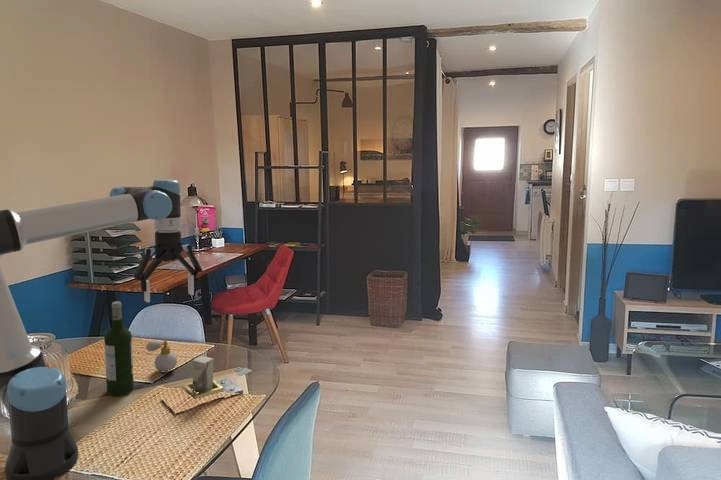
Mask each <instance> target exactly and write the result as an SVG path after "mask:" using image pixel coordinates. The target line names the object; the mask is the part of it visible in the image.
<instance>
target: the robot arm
mask: <svg viewBox="0 0 721 480" xmlns="http://www.w3.org/2000/svg"><path fill="white" fill-rule="evenodd" d="M181 197H182V194H181V186H180V182H179V181H178V180H177V179H154V181H153V182H152V185H151V186H119V187H114V188H112V189H111V190H110V192H109V196H107V197H101V198H96V199H90V200H83V201H78V202H72V203H65V204H61V205H60V204H59V205H52V206H48V207H42V208H36V209H30V210H23V211H18V212H16V211H13V210H12V209H9V208H7V209H1V210H0V259H1V258H2V256H3V255H6V254H7V255H8V254H11V253H15V252H21V251H23V249H24V248H25V246H27V245H32V244H35V243H40V242H46V241H51V240H55V239H60V238H65V237H69V236H74V235H78V234H83V233H88V232H92V231H98V230H102V229H107V228H111V227H116V226H121V225H126V224H132V223H135V222H136V223H137V222H140V221H145V220H146V221H147V220H153V221H154V230H155V231H154V248H153V247H151V248H149V247H144V248H143V255H142V258H141V260H140V261H139V264H138V266H137V268H136V270H135V272H134V275H133V279H134V280H136V281H139V282H140V290H141V292H143V297H144V298H143V299H144V302H146V303H150V302H151V293H150V292H151V290H150V280H148V279H149V278H150V277H151V275H152V274H153V273H154V272H155V270H156V269H157V268H158V267H159V266H160V264H161V263H162V262H169V261H172V262H174V261H176V260H178V262H179V263H181V265H182V266H184V268H185V269H186V270H187V271H188V272H189V273H188V274H187V292H188V295H190V296H194V295H195V291H194V290H195V286H194V285H197V275H198V274H199V273H202V272H203V269H202V266H201V265H200V263H199V261H198V260H197V256H196V255H195V254H194V252H193V246H192V244H188V243H185V244H183V245H182V231H180V230H181V229H182V217H181V216H182V215H181V214H182V213H181ZM183 251H184V252H185V253H186V255H187V257H188V259H189V260H190V262H191V264H192V265H191V264H189V262H188V261H187V260H186V259H185V258H184V257H183V255H181V253H182V252H183ZM154 253H155V255H156V256H155V257H154V258H153V260H152V261H151V262H150V263H149V261H150V259H151V256H153V254H154ZM148 263H149V265H148ZM192 266H193V267H192ZM146 267H147V268H146ZM67 388H68V387H67V382H66V379H65V374H64V373H63V372H62V371H61V370H59V369H58V368H54V367H48V365H47V363H46V360H45V357H44V355H43V353H42V350H41V348H40V347H38V346H35V345H32V343H31V341H30V339H29V336H28V333H27V331H26V328H25V326H24V323H23V321H22V318H21V316H20V313H19V311H18V309H17V306H16V303H15V300H14V297H13V295H12V293H11V290H10V287H9V285H8V283H7V280H6V277H5V275H4V272H3V270H2V267H1V266H0V401H1V402H2V404H3V406H4V408H5V410H6V412H7V413H8V418H9V426H10V437H11V445H10V448H9V452H8V455H7V457H6V461H5V464H4V474H5V475H4V476H5V478H6V480H54V479H55V478H58V477H60V476H62V475H64V474H65V473H67V472H68V471H69V470H71V469H72V468H73V467H74V466H75V465H76V463H77V462H78V460H79V448H78V445H77V443H76V441H75V439H74V438H73V435H72V434H71V431H70V429H69V418H68V417H69V416H68V415H69V414H68V401H67V400H68V399H67ZM77 459H78V460H77ZM76 461H77V462H76ZM74 464H75V465H74ZM73 465H74V466H73ZM72 466H73V467H72Z"/></svg>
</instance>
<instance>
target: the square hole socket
mask: <svg viewBox="0 0 721 480" xmlns="http://www.w3.org/2000/svg"><path fill="white" fill-rule="evenodd" d="M192 389H193V381H192V382H188V383H185V384H182V391H183V390H185V391H186V392H187V393H188V394H189V395H191V396H192V397H193V398H194V399H197V398H201V397H205V396H209V395H212V394H215V393H219V392H232V393H241V394H243V393H244V390H243V388H241V387H240V386H238V385H237V384H236V383H234V382H233V381H232V380H231V379H229V378H228V377H226V378H222V379H219V380H216V379H214V378H213V389H212V390H208V391H205V392H202V393H198V394H196V393H195V392H194V391H193V390H192Z"/></svg>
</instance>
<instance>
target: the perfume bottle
mask: <svg viewBox="0 0 721 480" xmlns="http://www.w3.org/2000/svg"><path fill="white" fill-rule="evenodd" d="M145 347H146V350H147V351H149V352H155V351H157V350H159V349H160V348H161V349H160V350H161V351H160V353H158V354H157V355H156V357H155V358H154V366H155V368H156V369H155V370H157V371H158V370H159V371H158V372H160V371H168V370H171V369H173V368H174V369H175V367H176V366H177V363H178V359H177V356H176V354H175V353H173V352H172V351H171V349H170V345H168V341H167V340H166V339H164V340H163V342H161V341H158V340H150V341H148V342H147V343H146V345H145ZM174 369H173V370H174ZM171 371H172V370H171Z"/></svg>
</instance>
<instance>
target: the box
mask: <svg viewBox="0 0 721 480" xmlns="http://www.w3.org/2000/svg"><path fill="white" fill-rule="evenodd" d="M213 379H214V358H212V357H208V356H204V355H200V356H198V357H196V358H194V359H193V360H192V382H193V391H195V392H199V393H202V392H205V391H208V390H212V389H213Z"/></svg>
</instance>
